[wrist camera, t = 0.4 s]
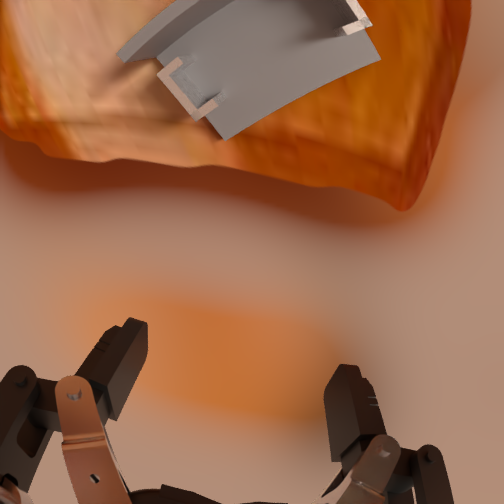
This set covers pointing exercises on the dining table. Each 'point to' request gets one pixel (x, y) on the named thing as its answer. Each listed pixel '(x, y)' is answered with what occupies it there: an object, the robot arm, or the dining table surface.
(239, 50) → the hinge bracket
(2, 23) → the dining table surface
